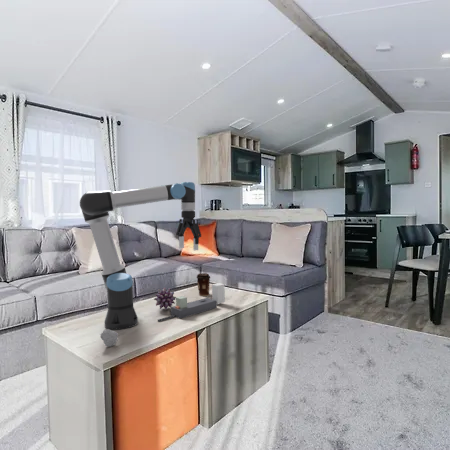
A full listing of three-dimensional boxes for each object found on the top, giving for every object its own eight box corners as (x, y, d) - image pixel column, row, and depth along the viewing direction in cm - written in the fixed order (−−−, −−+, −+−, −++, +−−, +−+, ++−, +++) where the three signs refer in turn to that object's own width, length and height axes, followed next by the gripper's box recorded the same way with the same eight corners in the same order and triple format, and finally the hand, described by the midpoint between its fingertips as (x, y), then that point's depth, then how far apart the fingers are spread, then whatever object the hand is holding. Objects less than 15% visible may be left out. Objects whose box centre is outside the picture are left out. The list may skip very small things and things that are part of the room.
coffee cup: (194, 296, 208) (194, 275, 207) (199, 292, 216) (198, 272, 215) (208, 296, 206) (208, 275, 205) (212, 293, 214) (211, 273, 213)
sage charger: (180, 308, 170) (180, 299, 169) (176, 307, 173) (175, 297, 172) (187, 307, 172) (186, 297, 172) (182, 305, 175) (182, 296, 175)
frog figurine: (98, 346, 136) (97, 329, 136) (116, 341, 140) (115, 325, 140) (102, 351, 131) (102, 333, 131) (120, 346, 135) (120, 329, 135)
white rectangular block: (217, 306, 186) (217, 285, 186) (212, 304, 190) (211, 284, 189) (224, 304, 190) (224, 284, 189) (219, 302, 193) (218, 283, 192)
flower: (152, 313, 176) (151, 290, 176) (156, 306, 188) (155, 285, 188) (174, 312, 177) (173, 290, 176) (177, 305, 189) (176, 284, 188)
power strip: (162, 323, 160) (162, 313, 160) (153, 319, 166) (153, 310, 166) (216, 307, 183) (216, 299, 183) (207, 304, 189) (207, 296, 189)
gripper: (207, 210, 179) (208, 250, 180) (181, 210, 197) (181, 246, 198) (196, 210, 174) (196, 251, 175) (170, 210, 192) (170, 247, 193)
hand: (188, 249), depth 187 cm, fingers open, 13 cm apart
